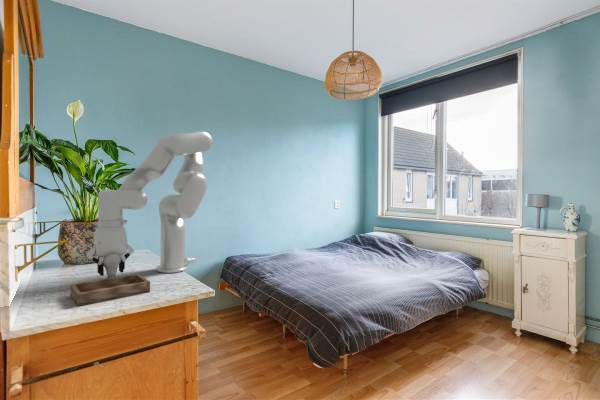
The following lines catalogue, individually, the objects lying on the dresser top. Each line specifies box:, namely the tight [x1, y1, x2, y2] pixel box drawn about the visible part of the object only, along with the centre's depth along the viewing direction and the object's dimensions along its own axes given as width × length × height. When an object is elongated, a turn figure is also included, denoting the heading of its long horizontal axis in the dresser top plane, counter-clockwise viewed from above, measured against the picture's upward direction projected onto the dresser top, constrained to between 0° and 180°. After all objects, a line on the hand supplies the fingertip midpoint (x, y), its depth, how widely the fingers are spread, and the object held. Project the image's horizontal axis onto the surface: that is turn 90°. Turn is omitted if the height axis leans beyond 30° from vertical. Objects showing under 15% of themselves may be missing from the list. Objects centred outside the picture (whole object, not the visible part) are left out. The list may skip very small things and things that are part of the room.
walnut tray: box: [69, 273, 151, 307], centre depth 102 cm, size 20×12×4 cm, turn 134°
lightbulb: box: [102, 254, 121, 279], centre depth 115 cm, size 6×6×11 cm
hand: (111, 272), depth 115 cm, fingers closed on lightbulb, 5 cm apart
